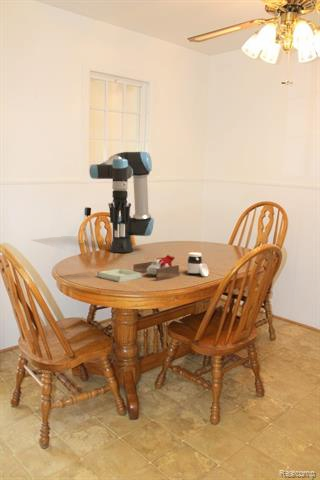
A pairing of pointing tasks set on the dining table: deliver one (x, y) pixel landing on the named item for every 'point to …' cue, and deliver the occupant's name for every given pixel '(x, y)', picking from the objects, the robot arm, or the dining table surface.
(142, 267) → the walnut holder
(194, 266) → the spread jar
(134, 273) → the sage tray
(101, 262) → the dining table surface
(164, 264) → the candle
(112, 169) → the robot arm
